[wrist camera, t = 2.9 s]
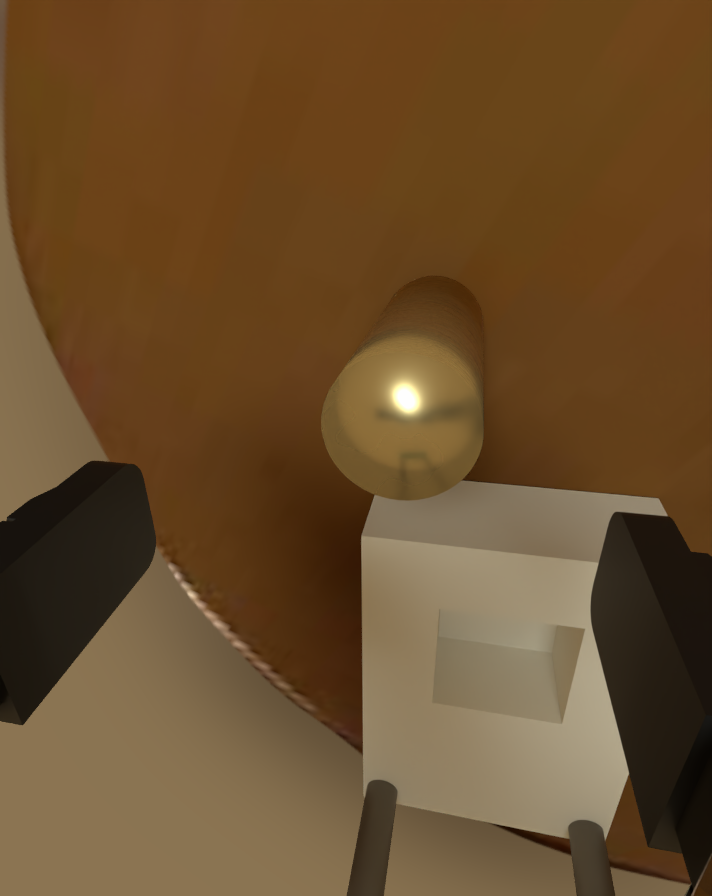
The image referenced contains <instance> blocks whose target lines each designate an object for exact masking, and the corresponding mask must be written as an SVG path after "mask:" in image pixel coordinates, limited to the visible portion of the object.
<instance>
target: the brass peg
mask: <svg viewBox="0 0 712 896" xmlns="http://www.w3.org/2000/svg"><path fill="white" fill-rule="evenodd" d="M321 427H322V435H323V439H324V443H325V446H326V448H327V451H328V453H329V455H330V457H331V459H332V460H333V462H334V463H335V465H336V466H337V467H338V469H339V470H340V471H341V472H342V473H343V474H344V475H345V476H346V477H347V478H348V479H349V480H351V481H352V482H353V483H354V484H356V485H357V486H359V487H360V488H362V489H364V490H366V491H368V492H370V493H372V494H375V495H377V496H381V497H384V498H388V499H394V500H406V501H410V500H420V499H426V498H430V497H433V496H436V495H439V494H441V493H443V492H445V491H447V490H449V489H451V488H452V487H454V486H455V485H456V484H458V483H459V482H460V481H461V480H462V479H463V478H464V477H465V476H466V475H467V474H468V473H469V472H470V470H471V469H472V468H473V466H474V465H475V463H476V461H477V459H478V457H479V454H480V451H481V448H482V443H483V438H484V363H483V316H482V312H481V308H480V306H479V303H478V302H477V300H476V298H475V297H474V295H473V294H472V293H471V292H470V291H469V290H468V289H467V288H466V287H465V286H463V285H462V284H461V283H459V282H457V281H455V280H453V279H450V278H447V277H442V276H426V277H421V278H418V279H415V280H413V281H411V282H409V283H407V284H406V285H404V286H403V287H402V288H401V289H399V290H398V291H397V293H396V294H395V295H394V296H393V298H392V299H391V301H390V302H389V303H388V305H387V306H386V308H385V309H384V311H383V312H382V314H381V315H380V317H379V318H378V320H377V321H376V322H375V324H374V325H373V327H372V328H371V330H370V331H369V333H368V334H367V336H366V337H365V339H364V340H363V341H362V343H361V344H360V346H359V347H358V349H357V350H356V352H355V353H354V355H353V356H352V357H351V359H350V360H349V362H348V363H347V365H346V366H345V368H344V369H343V371H342V372H341V374H340V375H339V376H338V378H337V379H336V381H335V382H334V384H333V385H332V387H331V388H330V390H329V392H328V394H327V396H326V399H325V402H324V405H323V410H322V417H321Z"/></svg>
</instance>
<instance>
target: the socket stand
mask: <svg viewBox="0 0 712 896" xmlns="http://www.w3.org/2000/svg"><path fill="white" fill-rule="evenodd" d="M615 512H628V513H638V514H649V515H659V516H667V514H666V512H665V510H664V508H663V506H662V504H661V502H660V501H659V499H658V498H648V497H637V496H627V495H616V494H605V493H594V492H583V491H572V490H561V489H550V488H539V487H528V486H517V485H506V484H495V483H484V482H473V481H462V480H461V481H460V482H459V483H458V484H456V485H455V486H454V487H452V488H451V489H449V490H447V491H445V492H443V493H441V494H439V495H436V496H433V497H430V498H426V499H420V500H410V501H406V500H394V499H388V498H384V497H381V496H377V495H374V499H373V502H372V505H371V508H370V511H369V514H368V517H367V520H366V523H365V526H364V529H363V532H362V535H361V562H362V682H363V790H364V791H363V793H364V794H363V795H364V796H363V797H365V800H364V806H363V811H362V817H361V822H360V827H359V832H358V838H357V843H356V849H355V854H354V860H353V865H352V870H351V876H350V881H349V886H348V892H347V896H384V889H385V882H386V874H387V867H388V860H389V852H390V845H391V838H392V830H393V823H394V815H395V808H396V804H399V805H404V806H409V807H414V808H419V809H424V810H429V811H434V812H439V813H444V814H448V815H454V816H458V817H463V818H468V819H473V820H478V821H483V822H488V823H493V824H498V825H503V826H508V827H513V828H517V829H522V830H527V831H532V832H537V833H542V834H547V835H552V836H557V837H562V838H567V839H570V846H571V854H572V861H573V869H574V877H575V884H576V893H577V896H615V892H614V887H613V881H612V875H611V870H610V864H609V859H608V853H607V848H606V842H605V840H606V838H607V835H608V832H609V829H610V826H611V823H612V820H613V817H614V815H615V812H616V809H617V806H618V803H619V800H620V797H621V795H622V792H623V789H624V786H625V783H626V780H627V777H628V775H629V771H628V767H627V763H626V759H625V755H624V751H623V747H622V743H621V739H620V735H619V731H618V728H617V724H616V720H615V716H614V712H613V708H612V704H611V700H610V696H609V692H608V688H607V684H606V681H605V677H604V673H603V669H602V665H601V661H600V657H599V653H598V649H597V645H596V641H595V637H594V633H593V629H592V624H591V612H590V605H591V593H592V588H593V583H594V579H595V575H596V571H597V567H598V564H599V560H600V556H601V552H602V548H603V544H604V540H605V536H606V532H607V528H608V524H609V521H610V519H611V517H612V515H613V514H614V513H615Z"/></svg>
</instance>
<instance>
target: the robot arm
mask: <svg viewBox="0 0 712 896" xmlns="http://www.w3.org/2000/svg"><path fill="white" fill-rule="evenodd" d="M155 547H156V535H155V530H154V525H153V520H152V516H151V511H150V506H149V502H148V497H147V492H146V488H145V483H144V478H143V475H142V472H141V470H140V469H139V468H138V467H137V466H136V465H134V464H126V463H115V462H104V461H91V462H88V463H87V464H85V465H84V466H83V467H81V468H80V469H79V470H78V471H76V472H75V473H74V474H72V475H71V476H70V477H69V478H67V479H66V480H65V481H64V482H62V483H61V484H60V485H59V486H57V487H55V488H53V489H51V490H49V491H47V492H45V493H43V494H41V495H38V496H36V497H34V498H32V499H30V500H29V501H28V502H26V503H25V504H24V505H22V506H21V507H20V508H18V509H17V510H16V511H15V512H13V513H12V514H11V515H9V516H8V517H7V521H2V522H0V721H2V722H8V723H13V724H18V725H23V724H24V723H25V722H26V721H27V719H28V718H29V717H30V715H31V714H32V713H33V712H34V711H35V709H36V708H37V707H38V706H39V704H40V703H41V702H42V701H43V699H44V698H45V697H46V696H47V694H48V693H49V692H50V691H51V689H52V688H53V687H54V686H55V684H56V683H57V682H58V681H59V679H60V678H61V677H62V676H63V674H64V673H65V672H66V671H67V669H68V668H69V667H70V666H71V664H72V663H73V662H74V660H75V659H76V658H77V657H78V656H79V654H80V653H81V652H82V651H83V649H84V648H85V647H86V646H87V644H88V643H89V642H90V641H91V639H92V638H93V637H94V636H95V634H96V633H97V632H98V631H99V629H100V628H101V627H102V626H103V624H104V623H105V622H106V620H107V619H108V618H109V617H110V616H111V614H112V613H113V612H114V611H115V609H116V608H117V607H118V606H119V604H120V603H121V602H122V600H123V599H124V598H125V597H126V595H127V594H128V593H129V592H130V591H131V589H132V588H133V587H134V586H135V584H136V583H137V582H138V581H139V579H140V578H141V577H142V576H143V574H144V573H145V572H146V570H147V569H148V568H149V566H150V564H151V562H152V559H153V556H154V553H155ZM590 612H591V624H592V629H593V633H594V637H595V641H596V645H597V649H598V653H599V657H600V661H601V665H602V669H603V673H604V677H605V681H606V684H607V688H608V692H609V696H610V700H611V704H612V708H613V712H614V716H615V720H616V724H617V728H618V731H619V735H620V739H621V743H622V747H623V751H624V755H625V759H626V763H627V767H628V771H629V775H630V778H631V782H632V786H633V790H634V794H635V798H636V802H637V806H638V810H639V814H640V818H641V822H642V826H643V829H644V833H645V837H646V841H647V845H648V847H650V848H655V849H661V850H666V851H671V852H676V853H682V854H683V857H684V860H685V864H686V867H687V870H688V874H689V877H690V880H691V884H690V886H689V888H688V890H687V892H686V894H685V896H712V557H711V556H710V555H709V554H707V553H697V552H691V551H690V549H689V548H688V546H687V544H686V542H685V540H684V539H683V537H682V535H681V533H680V531H679V530H678V528H677V526H676V524H675V523H674V521H673V520H672V519H671V518H670V517H668V516H659V515H649V514H638V513H628V512H615V513H614V514H613V515H612V517H611V519H610V521H609V524H608V528H607V532H606V536H605V540H604V544H603V548H602V552H601V556H600V560H599V564H598V567H597V571H596V575H595V579H594V583H593V588H592V593H591V605H590Z"/></svg>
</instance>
